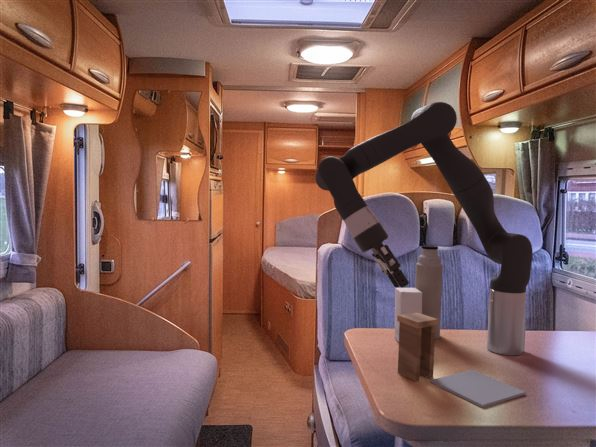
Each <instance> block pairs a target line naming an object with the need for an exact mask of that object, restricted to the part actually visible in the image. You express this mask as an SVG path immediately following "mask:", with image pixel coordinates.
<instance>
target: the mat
mask: <svg viewBox="0 0 596 447" xmlns="http://www.w3.org/2000/svg"><path fill="white" fill-rule="evenodd" d="M430 383H431V384H433V385H434V386H435V385H436V386H437V387H439V388H441V389H443V390H446V391H447V392H449V393H452V394H454V395H455V396H457V397H460V398H461V399H464V400H466V401H468V402H470V403H472V404H474V405H476V406H477V407H480V408H482V409H483V408H486V407H491V406H493V405H496V404H499V403H502V402H506V401H509V400H513V399H515V398H519V397H522V396H525V395H526V391H524V390H521V389H520V388H517V387H515V386H512V385H510V384H507V383H505V382H502V381H501V380H497V379H495V378H492V377H491V376H488V375H486V374H484V373H481V372H478V371H476V370H474V369H470V370H465V371H463V372H458V373H454V374H449V375H446V376H441V377H437V378H433V379H430Z"/></svg>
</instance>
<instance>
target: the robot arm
mask: <svg viewBox="0 0 596 447" xmlns="http://www.w3.org/2000/svg"><path fill="white" fill-rule="evenodd" d="M457 116H458V115H457V112H456V110H455V109H454V107H453V106H452V105H451V104H449V103H448V102H445V101H436V102H431V103H430V104H429V103H428V104H426V105H423V106H421V107H419V108H417V109H416V110H415V111H413V113H412V115H411V118H410V120H408V121H406V122H405V123H404V124H401V125H399V126H396V127H395V128H393V129H389V130H387V131H385V132H382V133H380V134H378V135H375V136H373V137H370V138H368V139H366V140H365V141H362V142H360V143H358V144H357V145H355V146H353V147H351V148H350V149H348V150H347V151H346V152H345V154H343V155H342V156H341V157H337V156H327V157H324V158H323V159H322V160H321V161H320V162H319V163H318V166H317V168H316V172H315V178H314V179H315V183H316V185H317V186H318V187H319V188H320V189H321V190H323V191H327V192H329V193H330V195H331V197H332V199H333V204H334V207H335V209H336V211H337V213H338V215H339V216H340V217H341V219H342V221H343V223H344V224H345V226H346V228H347V231H348V232H349V234H350V235H351V237H352V239H353V240H354V242H355V243H356V245H357V246H358V249H360V251H361V252H362V253H367V252H368V251H370V250H371V251H372V253H371V257H372V258H373V260H374V261H375V263H377V265H378V267H379V269H380V270H381V272H382V273H383V274H384V275H385V276H387V278H388V279H389V281H390V282H391V284H392V285H393V287H394V289H395V288H405V287H406V286H408V285H409V284H410V283H409V280H408V279H407V278H406V276H405V274H404V272H403V271H402V268H401V263H400V262H399V261H398V260H397V258H396V256H395V255H394V254H393V252H392V251H391V249H390V247H389V245H388V244H383V242H385V241H386V240H388V238H389V234H388V233H387V231H386V229H385V228H384V226H383V225H382V224H381V222H380V220H379V219H378V218H377V216H376V214H375V213H374V212H373V211H372V209H371V208H370V207H369V206H368V204H367V203H366V201H365V200H364V198H363V196H362V195H361V194H360V192H359V190H358V188H357V186H356V183H355V181H354V179H355V178H356V177H358V176H359V175H362V174H364V173H366V172H368V171H370V170H371V169H373V168H376V167H378V166H379V165H381V164H383V163H386V161H388V160H390V159H393V157H395V156H397V155H399V154H401V153H403V152H405V151H408V150H409V149H411V148H413V147H416V146H418V145H420V144H421V145H422V147H423V148H424V150H425V151H426V153H428V154H429V156H430V158H431V159H432V160H433V161H434V163H435V165H436V167H437V169H438V170H439V172H440V173H441V175H442V176H443V179H444V180H445V182H446V184H447V185H448V187H449V189H450V191H451V192H452V194H453V195H454V197H455V198H456V201H457V202H458V204H459V205H460V207H461V208H462V210H463V211H464V213H465V214H466V217H467V218H468V220H469V222H470V223H471V225H472V226H473V228H474V230H475V232H476V234H477V236H478V238H479V242H481V245H482V247H483V249H484V251H485V253H486V255H487V257H488V258H489V259H490V260H491V261H492V262H494V263H495V264H498V265H500V272H499V274H498V275H497V276H494V277H492V278H490V281H489V298H488V299H489V300H488V301H489V302H488V320H487V336H486V338H487V339H486V341H487V342H486V349H487V350H489V351H491V352H493V353H495V354H500V355H505V356H520V355H522V354H523V352H524V351H525V346H526V344H525V343H526V325H527V324H526V323H527V318H526V317H525V316H526V301H527V300H526V296H527V295H526V294H527V293H526V292H527V286H528V284H529V283H530V279H531V272H532V264H533V245H532V242H531V240H530V239H529V237H527V236H526V235H524V234H521V233H520V234H519V233H513V232H507V230H506V229H504V227H503V225H502V224H501V223H500V221H499V219H498V217H497V215H496V212H495V199H494V192H493V188H492V186H491V184H490V183H489V181H488V179H487V178H486V176H485V174H484V173H483V171H482V170H481V168H480V167H479V166H478V165H477V164H476V163H475V162H474V161H473V160H471V159H470V158H469V157H468V156H466V155H465V154H464V153H463V152H462V151H461V150H460V149H459V148H458V147H457V146H456V145H455V144H454V142H453V141H452V139H451V137H450V135H449V134H450V133H451V132H452V131H453V130H454V129H455V127H456V125H457V120H458V117H457Z"/></svg>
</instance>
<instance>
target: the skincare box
mask: <svg viewBox="0 0 596 447" xmlns="http://www.w3.org/2000/svg"><path fill="white" fill-rule="evenodd" d="M410 313H420V314H422V292H420V291H419V290H418V289H416V288H415V287H403V288H401V287H397V288H395V287H394V339H395V340H396V341H397V342H398V344H399V326H400V322H399V321H397V315H403V314H410Z"/></svg>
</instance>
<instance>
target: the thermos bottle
mask: <svg viewBox="0 0 596 447" xmlns="http://www.w3.org/2000/svg"><path fill="white" fill-rule="evenodd" d="M421 249H422V250H421V254H420V255H418V259H417V262H416V263H415V279H414V288H416V289H418V290H419V291H420V292H422V314H423V315H426V316H430V317H433V318H436V319H438V325H436V326H435V340H437V339H439V338H440V337H441V320H442V319H441V317H442V316H441V314H442V297H443V296H442V294H443V292H442V291H443V274H444V272H443V270H444V265H443V264H442V263H441V261H442V258H441V256H439V246H437V245H430V244H427V245H421Z"/></svg>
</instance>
